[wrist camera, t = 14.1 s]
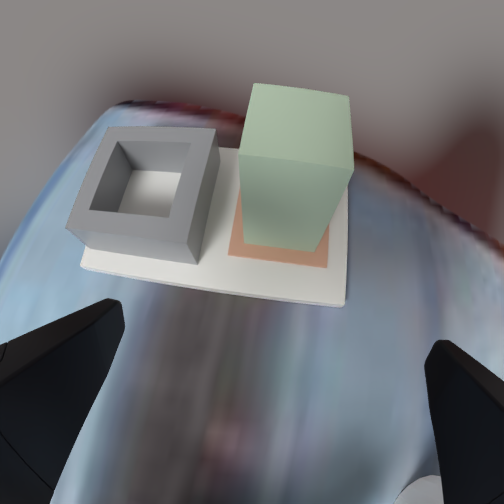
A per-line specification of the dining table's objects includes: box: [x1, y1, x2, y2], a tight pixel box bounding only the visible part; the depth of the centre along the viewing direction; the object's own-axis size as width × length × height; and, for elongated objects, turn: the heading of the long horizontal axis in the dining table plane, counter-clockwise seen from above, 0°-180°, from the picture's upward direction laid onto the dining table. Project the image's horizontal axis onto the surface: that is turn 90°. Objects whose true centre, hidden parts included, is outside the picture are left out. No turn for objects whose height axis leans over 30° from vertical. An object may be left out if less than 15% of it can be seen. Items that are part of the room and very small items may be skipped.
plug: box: [238, 83, 354, 252], centre depth 18 cm, size 5×5×10 cm
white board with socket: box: [65, 126, 348, 308], centre depth 22 cm, size 12×20×5 cm, turn 82°
